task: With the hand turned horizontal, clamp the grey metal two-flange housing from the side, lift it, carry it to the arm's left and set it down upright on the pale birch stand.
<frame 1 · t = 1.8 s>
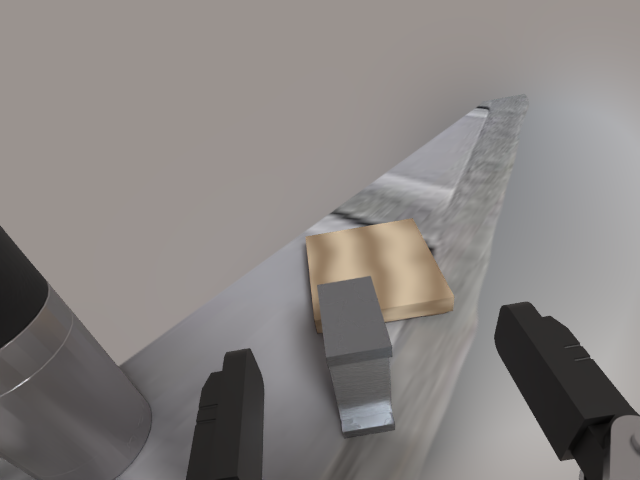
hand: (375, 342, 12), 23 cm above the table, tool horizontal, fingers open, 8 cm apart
housing: (362, 396, 35), on the table
birch stand: (371, 280, 47), on the table
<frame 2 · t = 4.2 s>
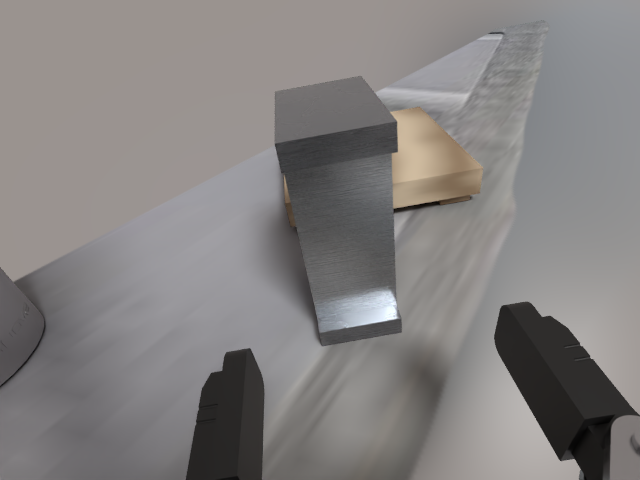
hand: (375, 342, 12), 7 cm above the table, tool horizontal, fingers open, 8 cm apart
housing: (351, 294, 23), on the table
birch stand: (366, 175, 35), on the table
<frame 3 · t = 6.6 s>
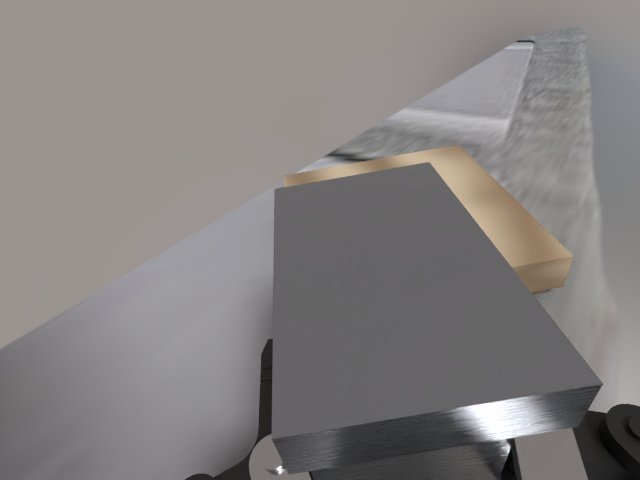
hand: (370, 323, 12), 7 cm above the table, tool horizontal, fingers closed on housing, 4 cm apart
housing: (392, 477, 15), on the table, touching gripper
birch stand: (394, 240, 27), on the table
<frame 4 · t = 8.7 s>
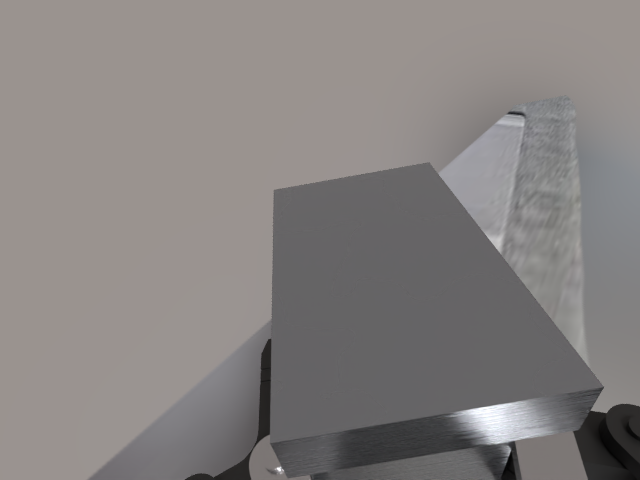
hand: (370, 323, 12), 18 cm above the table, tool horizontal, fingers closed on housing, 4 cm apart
housing: (393, 478, 15), point 11 cm above the table, touching gripper
when the fingers open (11 cm above the table, at t = 10.9 s): housing stays where it is, resting on birch stand.
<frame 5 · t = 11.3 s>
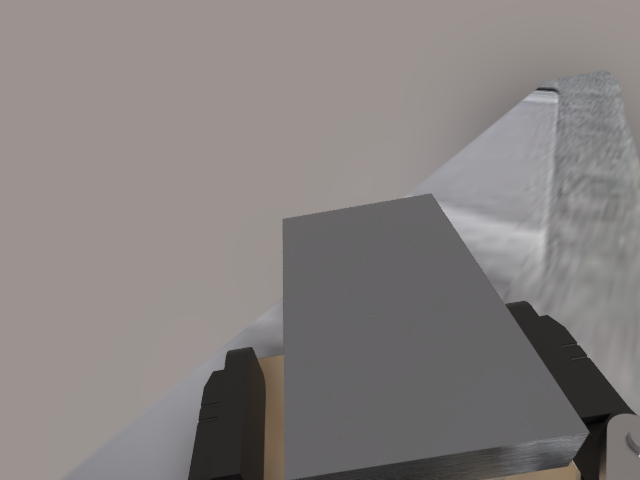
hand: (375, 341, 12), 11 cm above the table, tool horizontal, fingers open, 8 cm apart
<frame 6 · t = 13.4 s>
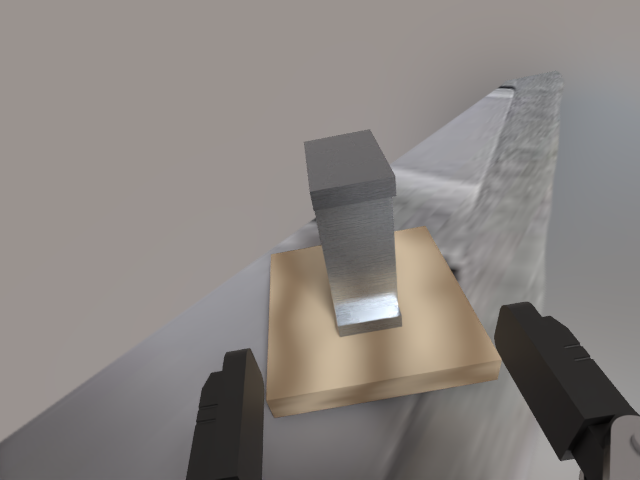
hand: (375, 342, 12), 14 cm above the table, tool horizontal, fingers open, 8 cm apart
housing: (362, 296, 29), point 3 cm above the table, touching birch stand
birch stand: (365, 320, 31), on the table
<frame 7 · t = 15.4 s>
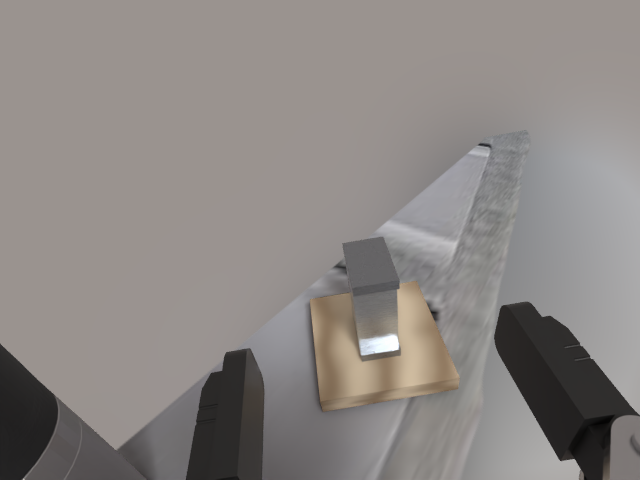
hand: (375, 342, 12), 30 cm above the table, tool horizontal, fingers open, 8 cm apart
housing: (375, 334, 45), point 3 cm above the table, touching birch stand
birch stand: (375, 348, 47), on the table
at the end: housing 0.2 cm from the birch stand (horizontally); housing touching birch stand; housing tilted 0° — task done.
